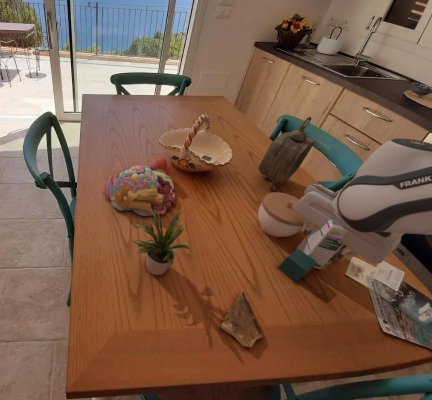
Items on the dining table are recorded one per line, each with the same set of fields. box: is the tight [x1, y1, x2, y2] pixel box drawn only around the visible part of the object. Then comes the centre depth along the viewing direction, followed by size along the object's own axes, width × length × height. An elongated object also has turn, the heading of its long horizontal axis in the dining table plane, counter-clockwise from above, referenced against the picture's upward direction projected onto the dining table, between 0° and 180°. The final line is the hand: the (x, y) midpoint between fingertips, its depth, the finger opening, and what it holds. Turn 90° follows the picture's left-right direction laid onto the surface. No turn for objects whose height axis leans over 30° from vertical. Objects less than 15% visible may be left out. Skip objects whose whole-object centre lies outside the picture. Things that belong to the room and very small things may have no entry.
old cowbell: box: [258, 116, 316, 192], centre depth 91 cm, size 14×9×25 cm, turn 131°
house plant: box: [131, 207, 191, 276], centre depth 64 cm, size 14×14×16 cm
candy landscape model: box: [105, 157, 178, 217], centre depth 87 cm, size 25×24×9 cm
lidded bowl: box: [257, 191, 305, 238], centre depth 78 cm, size 13×13×11 cm
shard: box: [220, 291, 264, 348], centre depth 59 cm, size 11×8×2 cm
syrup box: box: [296, 220, 348, 271], centre depth 68 cm, size 6×6×14 cm
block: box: [278, 249, 317, 283], centre depth 69 cm, size 5×5×5 cm
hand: (322, 244), depth 68 cm, fingers closed on syrup box, 8 cm apart
